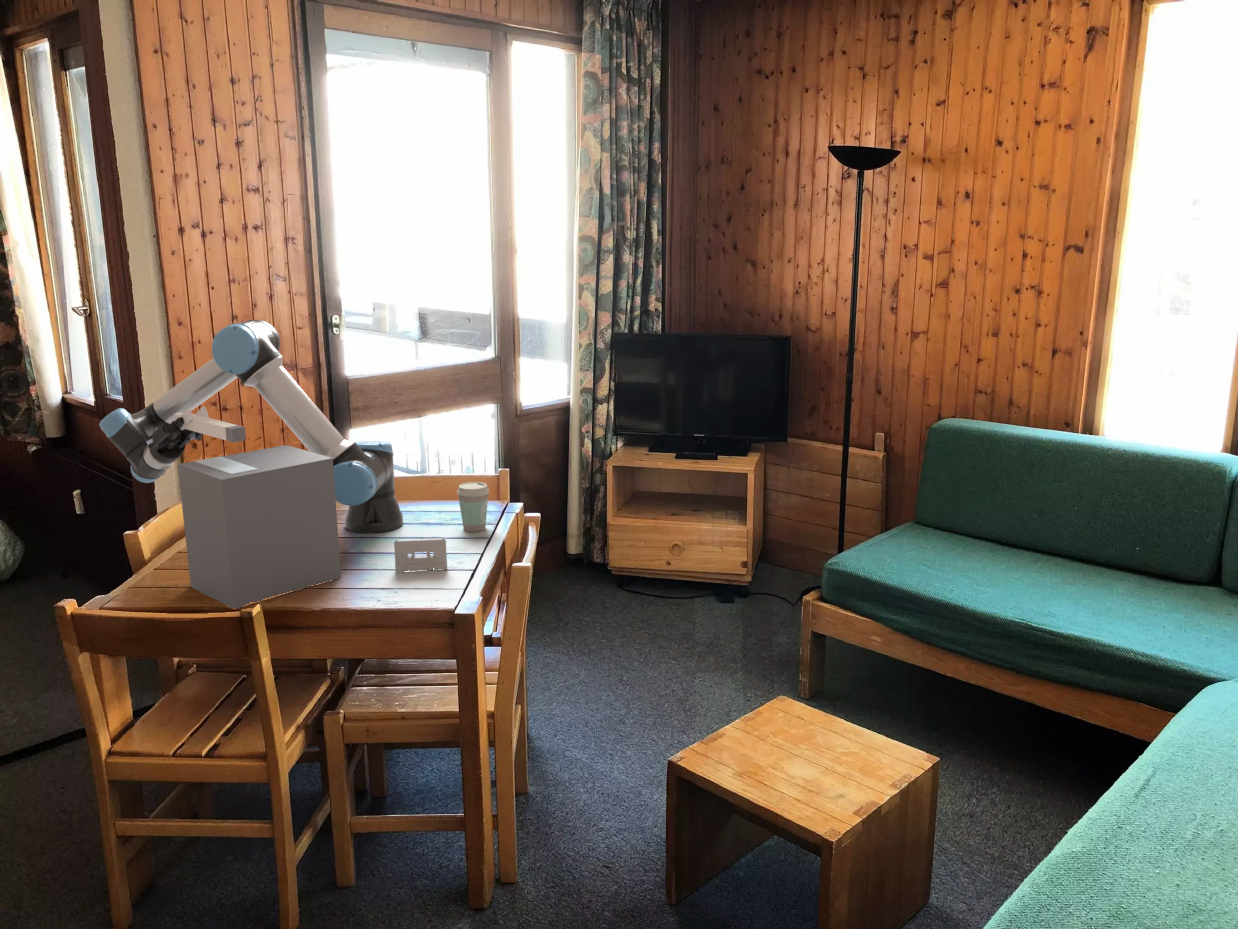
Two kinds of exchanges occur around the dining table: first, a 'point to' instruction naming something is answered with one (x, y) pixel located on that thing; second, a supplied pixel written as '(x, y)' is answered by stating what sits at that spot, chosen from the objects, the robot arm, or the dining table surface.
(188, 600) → the dining table surface
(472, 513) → the coffee cup
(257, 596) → the grey box
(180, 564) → the dining table surface
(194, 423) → the bar
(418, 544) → the cassette
